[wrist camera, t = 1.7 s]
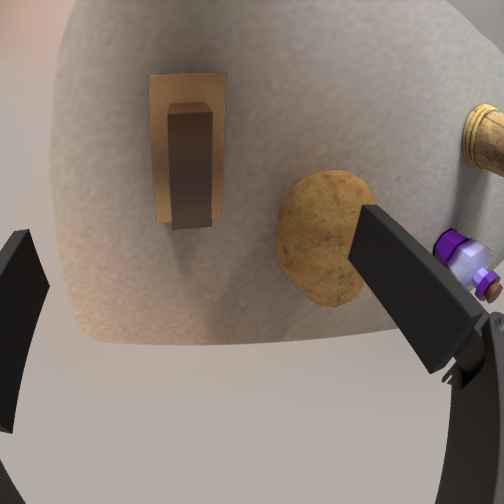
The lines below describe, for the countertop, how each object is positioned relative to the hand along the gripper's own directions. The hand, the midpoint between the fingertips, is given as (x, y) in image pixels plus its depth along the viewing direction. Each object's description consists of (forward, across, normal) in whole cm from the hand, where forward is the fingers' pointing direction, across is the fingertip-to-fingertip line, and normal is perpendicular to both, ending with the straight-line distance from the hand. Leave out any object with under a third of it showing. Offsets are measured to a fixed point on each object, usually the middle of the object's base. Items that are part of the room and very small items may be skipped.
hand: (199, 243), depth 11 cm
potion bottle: (+15, +36, -13) cm, 41 cm away
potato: (+15, +12, -8) cm, 21 cm away
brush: (+15, 0, 0) cm, 15 cm away
